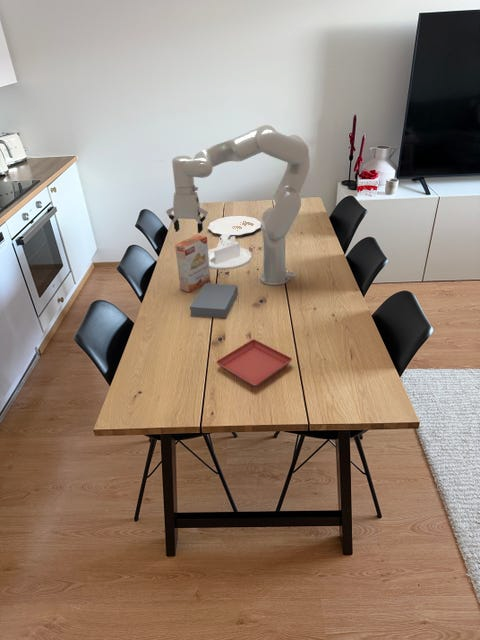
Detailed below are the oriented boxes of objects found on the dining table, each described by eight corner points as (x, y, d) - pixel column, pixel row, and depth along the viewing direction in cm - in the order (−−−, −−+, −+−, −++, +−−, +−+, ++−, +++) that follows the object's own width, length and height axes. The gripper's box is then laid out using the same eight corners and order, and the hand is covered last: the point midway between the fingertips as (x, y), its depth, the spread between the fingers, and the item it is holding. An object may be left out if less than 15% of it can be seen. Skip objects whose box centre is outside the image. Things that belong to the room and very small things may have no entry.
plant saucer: (215, 369, 155) (214, 361, 153) (253, 345, 165) (253, 337, 163) (255, 393, 143) (254, 385, 142) (293, 366, 154) (293, 358, 152)
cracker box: (190, 293, 199) (184, 247, 188) (179, 289, 203) (173, 244, 192) (211, 280, 209) (207, 236, 198) (201, 277, 212) (196, 233, 201)
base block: (237, 293, 197) (237, 285, 195) (225, 318, 181) (225, 309, 179) (205, 291, 200) (204, 283, 198) (191, 315, 184) (190, 306, 182)
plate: (200, 226, 268) (200, 222, 267) (247, 216, 278) (247, 212, 277) (220, 243, 245) (220, 238, 244) (270, 232, 255) (270, 227, 254)
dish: (218, 245, 243) (216, 224, 237) (260, 253, 231) (260, 232, 225) (190, 264, 225) (187, 242, 219) (234, 274, 214) (233, 251, 208)
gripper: (208, 187, 185) (211, 229, 194) (167, 186, 188) (172, 227, 197) (203, 193, 179) (206, 235, 188) (160, 191, 182) (165, 233, 191)
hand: (188, 231), depth 193 cm, fingers open, 9 cm apart
